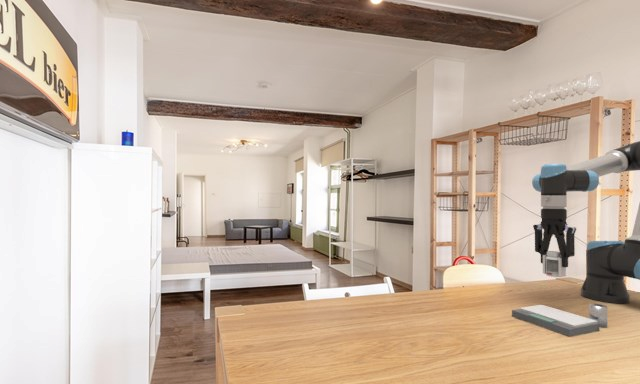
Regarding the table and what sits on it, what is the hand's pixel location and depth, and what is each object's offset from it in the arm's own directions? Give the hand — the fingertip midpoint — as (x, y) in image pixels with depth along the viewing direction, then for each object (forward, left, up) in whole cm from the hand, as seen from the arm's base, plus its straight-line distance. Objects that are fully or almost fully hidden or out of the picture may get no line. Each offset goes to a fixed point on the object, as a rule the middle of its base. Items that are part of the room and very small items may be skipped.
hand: (554, 274), depth 121 cm
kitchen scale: (+12, +8, -13) cm, 19 cm away
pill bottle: (0, 0, -1) cm, 1 cm away
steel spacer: (0, +14, -13) cm, 19 cm away
